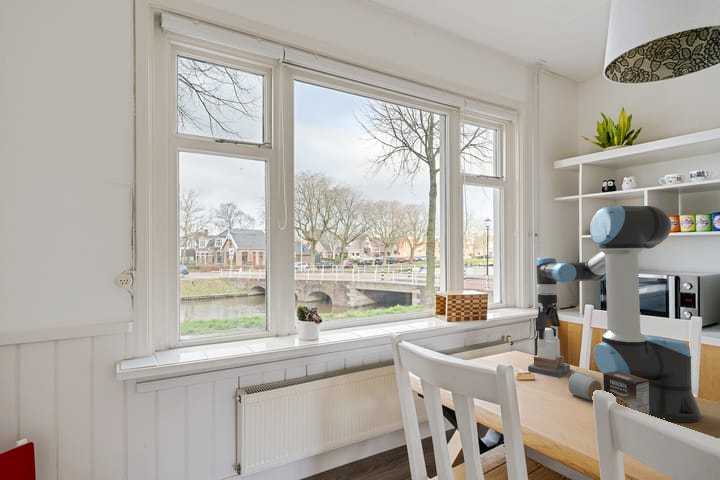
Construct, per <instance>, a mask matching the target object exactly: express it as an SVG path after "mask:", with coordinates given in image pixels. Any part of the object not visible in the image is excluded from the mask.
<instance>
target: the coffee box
mask: <svg viewBox="0 0 720 480" xmlns="http://www.w3.org/2000/svg"><path fill="white" fill-rule="evenodd" d="M602 375H603V392H604V391H606V392H609V393H612V394H613V395H614V396H615V397H616V402H617V403H618V404H620V405H623V406H625V407H628V408H631V409H633V410H637V411H639V412H642V413H645V414H648V415H649V380H648V379H644V378H641V377H637V376H633V375H630V374H626V373H623V372H619V371H614V372H607V373H604V374H602ZM649 416H650V415H649Z"/></svg>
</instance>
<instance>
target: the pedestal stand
mask: <svg viewBox="0 0 720 480" xmlns="http://www.w3.org/2000/svg"><path fill="white" fill-rule="evenodd" d="M570 370H571V365H570V364H568V363H565V357H564V355H560V356H558V357H557V358H556V359H552V358H546V357H539V356H538V355H537V354H536V355H534V356H533V363H532V364H529V365H528V366H527V372H530V371H532V372H531V373H535V372H536V374H539V375H540V374H541V375H544V376H545V375H546V376H552V377H555V378H560V377H561V376H562V375H564V374H565V373H567V372H568V371H570Z"/></svg>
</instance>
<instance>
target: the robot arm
mask: <svg viewBox="0 0 720 480" xmlns="http://www.w3.org/2000/svg"><path fill="white" fill-rule="evenodd" d="M589 226H590V227H589V230H590V231H589V233H590V237H591V239H592V241H594V243H596V244H597V245H598V246H599V247H598V248H599V251H600V252H598V253H596V254H595V255H594V256H592V257H591V258H590V259H588V260H586V261H583V262H581V261H580V262H557V259H556V257H537V260H536V279H537V280H536V282H537V283H536V284H537V285H536V286H535V287H536V288H537V293H538V294H537V302H538V304H541V306H538V308H537V309H538V310H537V311H538V312H537V318H536V324H535V331H536V332H538V333H537V334H538V339H539V347H544V348H546V331H545V328H546V327H547V323H548V319H549V321H550V327H552V328H555V329H556V338H558V339H559V327H561V324H560V318H559V314H558V309H557V304H558V295H557V294H558V284H557V283H558V282H560V283H570V282H599V281H605V285H606V286H605V287H606V316H607V318H606V319H607V321H606V322H607V325H606V326H607V330H606V331H605V332H604V333H602V335H601V337H602V338H601V339H602V340H601V341H602V342H598V343H597V344H596V345H595V347H594V349H593V358H594V361H595V364H596V366H597V368H598V369H599V371H600V373H601V374H602V375H603V374H604V373H607V372H614V371H619V372H623V373H626V374H630V375H633V376H637V377H641V378H644V379H648V380H649V416H650V415H652V416H651V417H653V416H655V417H654V418H656V417H658V418H657V419H659V418H660V419H659V420H663V418H665V419H664V421H669V422H673V421H674V423H681V422H682V423H685V424H686V423H687V424H688V423H690V424H691V423H697V422H699V421H700V420H701V412H700V411H701V410H700V408H699V406H698V404H697V401H696V398H695V396H694V394H693V389H692V388H693V387H692V355H691V348H690V345H689V344H688V343H687V342H685V341H682V340H679V339H674V338H670V337H665V336H664V337H663V336H657V335H644V334H642V333H641V311H640V304H641V303H640V281H639V278H640V277H639V254H640V253H641V252H642V251H644V250H645V249H647V250H649V249H652V248H653V249H654V248H655V247H657V246H658V245H660V244H661V243H663V242H664V241H665V240H666V239H667V238H668V237H669V235H670V233H671V231H672V221H671V218H670V216H669V215H668V213H666V211H664V210H663V209H661V208H660V207H656V206H652V205H615V206H613V205H611V206H604V207H602V208H600V209H599V210H597V211H596V213H595V215H593V217H592V220H591V222H590V225H589ZM676 421H677V422H676Z"/></svg>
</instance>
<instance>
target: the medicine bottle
mask: <svg viewBox="0 0 720 480" xmlns="http://www.w3.org/2000/svg"><path fill="white" fill-rule="evenodd" d="M545 331H546V348H544V347H539V338H537V340H536V346H537V347H536V348H537V354H536V355H538V356H539V357H546V358H552V359H556V358H557V357H558V356H561V347H560V345H561V343H560V338H559V337H558V338H556V329H555V328H552V327H551V326H546V328H545Z"/></svg>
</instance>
